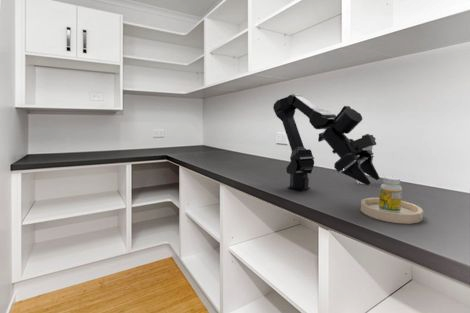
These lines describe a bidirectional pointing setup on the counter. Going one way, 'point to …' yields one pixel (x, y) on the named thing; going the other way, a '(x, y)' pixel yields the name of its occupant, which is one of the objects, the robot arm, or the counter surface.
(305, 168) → the robot arm
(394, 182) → the supplement bottle
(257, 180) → the counter surface
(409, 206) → the round tray
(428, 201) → the counter surface
